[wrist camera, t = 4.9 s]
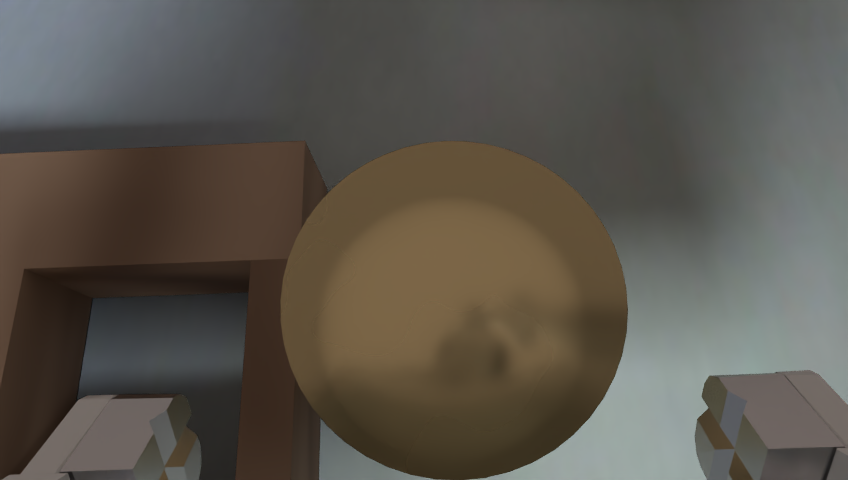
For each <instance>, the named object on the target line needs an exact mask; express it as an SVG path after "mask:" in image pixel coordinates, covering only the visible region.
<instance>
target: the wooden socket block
mask: <svg viewBox="0 0 848 480" xmlns="http://www.w3.org/2000/svg"><path fill="white" fill-rule="evenodd" d="M326 195H327V187H326V185H325V183H324V181H323V179H322V177H321V174H320V172H319V170H318V168H317V166H316V164H315V161H314V159H313V157H312V155H311V153H310V150H309V148H308V146H307V144H306V142H305V141H288V142H264V143H241V144H218V145H195V146H172V147H148V148H125V149H102V150H79V151H55V152H32V153H9V154H0V480H2V479H4V478H5V477H7V476H9V475H19V474H21V473H22V471H23V470H24V469H25V468H26V466H27V465H28V464H29V462H30V461H31V460H32V459H33V457H34V456H35V455H36V453H37V452H38V451H39V450H40V448H41V447H42V446H43V444H44V443H45V442H46V441H47V439H48V438H49V437H50V436H51V434H52V433H53V432H54V430H55V429H56V428H57V427H58V425H59V424H60V423H61V421H62V420H63V419H64V418H65V416H66V415H67V414H68V412H69V411H70V410H71V409H72V407H73V406H74V405H75V403H76V397H77V391H78V385H79V378H80V372H81V366H82V359H83V353H84V347H85V341H86V334H87V328H88V322H89V316H90V309H91V303H92V298H109V297H136V296H164V295H191V294H219V293H246V292H249V293H248V307H247V321H246V335H245V349H244V363H243V377H242V391H241V405H240V420H239V434H238V448H237V462H236V476H235V480H319V450H320V416H319V415H318V414H317V413H316V412H315V410H314V409H313V408H312V407H311V405H310V403H309V402H308V400H307V398H306V397H305V395H304V394H303V392H302V390H301V389H300V387H299V385H298V383H297V380H296V378H295V376H294V374H293V371H292V369H291V367H290V363H289V360H288V357H287V353H286V350H285V346H284V341H283V334H282V328H281V303H280V300H281V292H282V284H283V277H284V273H285V269H286V265H287V261H288V258H289V255H290V253H291V250H292V248H293V245H294V243H295V240H296V238H297V236H298V234H299V232H300V231H301V229H302V227H303V225H304V223H305V222H306V220H307V218H308V217H309V216H310V214H311V213H312V212H313V210H314V209H315V208H316V206H317V205H318V203H319V202H320V201H321V200H322V199H323V198H324V197H325V196H326Z"/></svg>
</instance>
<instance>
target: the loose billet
mask: <svg viewBox="0 0 848 480" xmlns="http://www.w3.org/2000/svg"><path fill="white" fill-rule="evenodd" d="M280 303H281V328H282V334H283V341H284V346H285V350H286V353H287V357H288V360H289V363H290V367H291V369H292V371H293V374H294V376H295V378H296V380H297V383H298V385H299V387H300V389H301V390H302V392H303V394H304V395H305V397H306V398H307V400H308V402H309V403H310V405H311V407H312V408H313V409H314V410H315V412H316V413H317V414H318V415H319V416H320V418H321V419H322V420H323V421H324V422H325V424H326V425H327V426H328V427H329V428H330V429H331V430H332V431H334V432H335V433H336V434H337V435H338V436H339V437H340V438H341V439H342V440H343V441H345V442H346V443H347V444H349V445H350V446H352V447H353V448H355V449H356V450H357V451H359V452H360V453H362V454H363V455H365V456H367V457H369V458H371V459H373V460H375V461H377V462H379V463H381V464H383V465H385V466H387V467H389V468H392V469H395V470H398V471H401V472H404V473H407V474H410V475H415V476H421V477H426V478H432V479H443V480H468V479H478V478H486V477H490V476H494V475H499V474H503V473H507V472H510V471H513V470H515V469H518V468H520V467H523V466H525V465H528V464H530V463H533V462H534V461H536V460H538V459H540V458H541V457H543V456H545V455H546V454H548V453H550V452H552V451H553V450H555V449H556V448H557V447H559V446H560V445H561V444H562V443H564V442H565V441H566V440H567V439H569V438H570V437H571V436H573V435H574V434H575V432H576V431H577V430H578V429H579V428H580V427H581V426H582V425H583V424H584V423H585V422H586V421H587V420H588V419H589V418H590V416H591V415H592V414H593V412H594V411H595V409H596V408H597V407H598V405H599V404H600V402H601V401H602V400H603V398H604V396H605V394H606V392H607V390H608V389H609V387H610V385H611V383H612V381H613V379H614V377H615V374H616V371H617V368H618V365H619V362H620V360H621V357H622V353H623V348H624V343H625V338H626V332H627V315H628V307H627V294H626V285H625V281H624V276H623V271H622V267H621V264H620V261H619V258H618V255H617V252H616V250H615V247H614V245H613V243H612V241H611V239H610V237H609V235H608V233H607V231H606V229H605V227H604V225H603V224H602V222H601V221H600V219H599V218H598V216H597V215H596V214H595V212H594V211H593V209H592V208H591V207H590V206H589V204H588V203H587V202H586V201H585V200H584V199H583V198H582V197H581V195H580V194H579V193H578V192H577V191H576V190H575V189H573V188H572V187H571V186H570V185H569V184H568V183H567V182H566V181H564V180H563V179H562V178H561V177H559V176H558V175H556V174H555V173H553V172H552V171H551V170H549V169H548V168H546V167H545V166H543V165H541V164H539V163H537V162H535V161H533V160H531V159H530V158H528V157H526V156H523V155H520V154H518V153H515V152H513V151H510V150H507V149H504V148H500V147H496V146H492V145H488V144H482V143H475V142H467V141H440V142H430V143H423V144H418V145H414V146H409V147H405V148H402V149H399V150H396V151H393V152H390V153H387V154H385V155H383V156H381V157H378V158H376V159H374V160H372V161H370V162H368V163H366V164H365V165H363V166H362V167H360V168H358V169H357V170H355V171H354V172H352V173H351V174H349V175H348V176H347V177H346V178H344V179H343V180H342V181H341V182H339V183H338V184H337V185H336V186H335V187H333V188H332V190H331V191H330V192H329V193H328V194H327V195H326V196H325V197H324V198H323V199H322V200H321V201H320V202H319V203H318V205H317V206H316V208H315V209H314V210H313V212H312V213H311V214H310V216H309V217H308V218H307V220H306V222H305V223H304V225H303V227H302V229H301V231H300V232H299V234H298V236H297V238H296V240H295V243H294V245H293V248H292V250H291V253H290V255H289V258H288V261H287V265H286V269H285V273H284V277H283V284H282V292H281V300H280Z"/></svg>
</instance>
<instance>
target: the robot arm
mask: <svg viewBox="0 0 848 480" xmlns="http://www.w3.org/2000/svg"><path fill="white" fill-rule="evenodd" d="M702 398H703V400H704V401H705V403H706V404H707V406H708V409H707V410H706V411H705V412H704V413H703V414H702V415H701V416H700V417H699V418H698V419H697V424H696V431H695V444H696V453H697V457H698V460H699V463H700V466H701V468H702V470H703V472H704V474H705V476H706V478H707V480H848V405H847V404H846V403H845V402H844V401H843V400H842V398H841V397H840V396H839V395H838V394H837V393H836V392H835V391H834V390H833V389H832V388H831V387H830V386H829V385H828V384H827V383H826V381H825V380H824V379H823V378H822V377H821V376H820V375H818V374H817V373H815V372H813V371H810V370H804V371H786V372H776V373H763V374H738V375H713V376H709V377H708V379H707V380H706V382H705V383H704V388H703V393H702ZM191 414H192V413H191V410H190V407H189V403H188V400H187V397H185V396H183V395H181V394H119V395H88V396H86V397H83V398H81V399H79V400H78V401H77V402H76V404H75V405H74V406H73V407H72V409H71V410H70V411H69V412H68V414H67V415H66V416H65V418H64V419H63V420H62V421H61V423H60V424H59V425H58V427H57V428H56V429H55V430H54V432H53V433H52V434H51V436H50V437H49V438H48V439H47V441H46V442H45V443H44V444H43V446H42V447H41V448H40V450H39V451H38V452H37V453H36V455H35V456H34V457H33V459H32V460H31V461H30V462H29V464H28V465H27V466H26V468H25V469H24V470H23V471H22V473H21V474H19V475H9V476H7V477H5V478H4V479H2V480H199V475H200V469H201V463H202V460H201V447H200V443H199V439H198V435H196V434H195V433H194V432H193V431H192V430H190V429H189V428H188V427H187V426H186V425H187V423H188V420H189V418H190V416H191Z"/></svg>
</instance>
